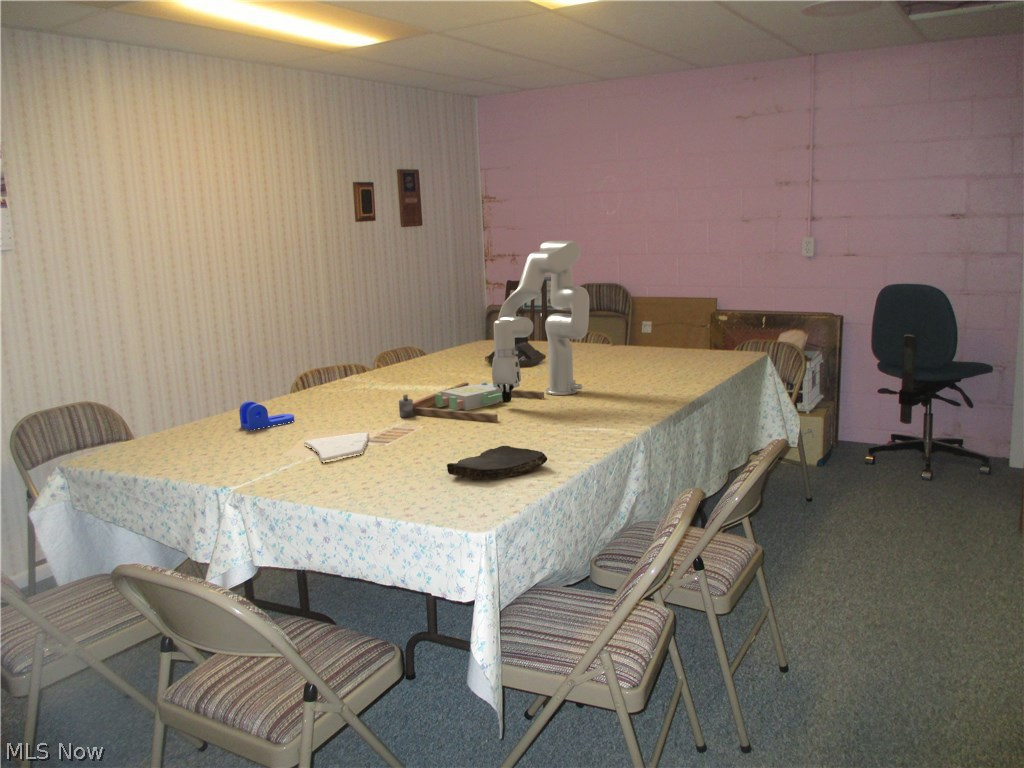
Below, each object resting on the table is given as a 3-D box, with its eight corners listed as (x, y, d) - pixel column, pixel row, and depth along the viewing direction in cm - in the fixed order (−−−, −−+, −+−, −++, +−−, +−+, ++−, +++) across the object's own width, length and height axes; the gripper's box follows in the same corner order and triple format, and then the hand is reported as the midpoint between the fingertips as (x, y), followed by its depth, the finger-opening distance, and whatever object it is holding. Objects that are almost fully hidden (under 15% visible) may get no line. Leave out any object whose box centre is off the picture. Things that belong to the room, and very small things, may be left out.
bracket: (250, 431, 287) (247, 406, 285) (241, 427, 293) (238, 403, 291) (298, 422, 298) (296, 397, 296) (288, 418, 305) (286, 394, 303)
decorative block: (479, 379, 331) (513, 385, 316) (479, 395, 332) (513, 402, 318) (427, 390, 314) (461, 397, 299) (428, 406, 315) (462, 414, 301)
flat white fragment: (304, 450, 267) (318, 467, 245) (303, 440, 267) (317, 456, 244) (368, 438, 275) (387, 454, 253) (366, 428, 275) (386, 443, 252)
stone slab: (440, 488, 230) (487, 489, 215) (436, 465, 229) (483, 464, 215) (507, 464, 248) (555, 463, 233) (503, 443, 247) (550, 441, 232)
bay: (544, 398, 321) (543, 378, 319) (487, 426, 282) (486, 403, 280) (461, 391, 338) (460, 372, 337) (397, 417, 299) (395, 395, 297)
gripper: (527, 352, 302) (529, 401, 306) (492, 350, 309) (494, 398, 313) (518, 355, 295) (519, 405, 299) (482, 353, 303) (484, 402, 306)
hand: (506, 401), depth 306 cm, fingers closed
